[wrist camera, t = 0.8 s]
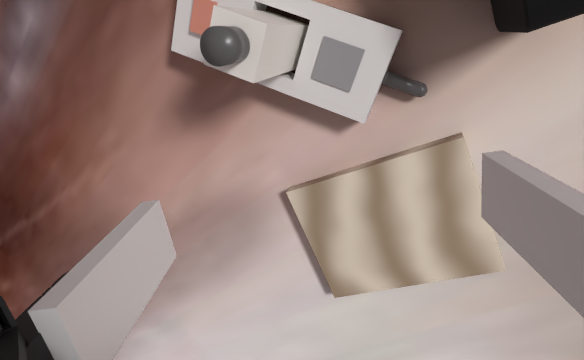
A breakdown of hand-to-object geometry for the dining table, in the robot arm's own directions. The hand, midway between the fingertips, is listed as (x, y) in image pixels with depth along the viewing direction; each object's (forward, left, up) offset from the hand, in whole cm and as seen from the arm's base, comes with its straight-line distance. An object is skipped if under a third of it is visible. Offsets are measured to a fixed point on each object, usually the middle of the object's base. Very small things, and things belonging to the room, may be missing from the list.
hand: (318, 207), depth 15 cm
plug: (+6, -9, -22) cm, 24 cm away
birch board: (+3, +12, -22) cm, 25 cm away
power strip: (+4, -8, -22) cm, 24 cm away
